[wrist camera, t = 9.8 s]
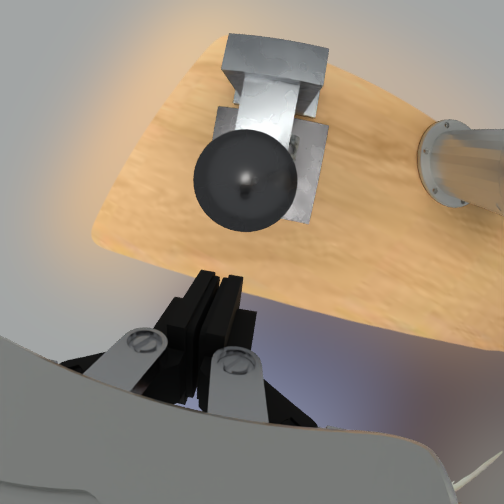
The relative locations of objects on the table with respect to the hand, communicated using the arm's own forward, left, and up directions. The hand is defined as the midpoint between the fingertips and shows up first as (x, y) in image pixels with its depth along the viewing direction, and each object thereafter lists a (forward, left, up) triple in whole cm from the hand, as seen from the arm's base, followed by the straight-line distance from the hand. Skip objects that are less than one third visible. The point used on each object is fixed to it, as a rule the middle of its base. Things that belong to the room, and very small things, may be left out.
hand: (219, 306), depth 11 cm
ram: (0, -5, -17) cm, 17 cm away
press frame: (0, -7, -27) cm, 28 cm away
